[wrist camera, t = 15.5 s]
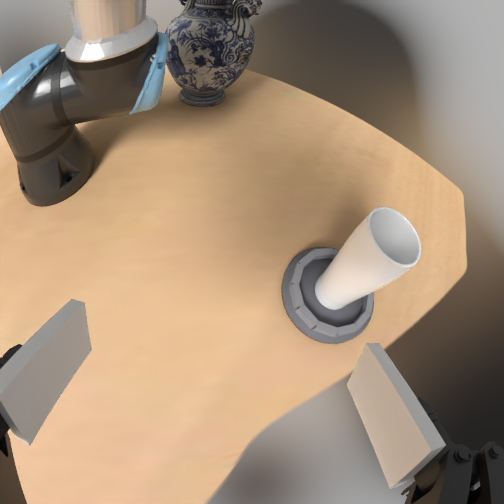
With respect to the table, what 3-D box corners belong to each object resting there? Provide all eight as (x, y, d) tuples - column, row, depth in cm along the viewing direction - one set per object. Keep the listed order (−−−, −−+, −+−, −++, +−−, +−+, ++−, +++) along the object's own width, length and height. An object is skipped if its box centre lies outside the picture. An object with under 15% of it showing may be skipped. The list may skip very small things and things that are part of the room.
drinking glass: (358, 286, 37) (425, 231, 24) (341, 325, 34) (416, 281, 21) (320, 261, 38) (376, 194, 25) (299, 298, 34) (358, 239, 21)
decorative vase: (262, 100, 57) (290, -4, 33) (208, 129, 49) (226, -7, 24) (199, 72, 61) (210, -18, 36) (143, 96, 52) (143, -12, 28)
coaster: (271, 253, 38) (275, 246, 36) (354, 246, 41) (360, 240, 39) (294, 353, 32) (300, 351, 30) (381, 331, 35) (389, 327, 33)
